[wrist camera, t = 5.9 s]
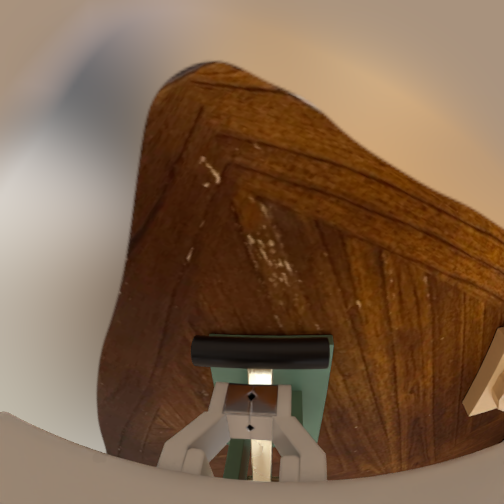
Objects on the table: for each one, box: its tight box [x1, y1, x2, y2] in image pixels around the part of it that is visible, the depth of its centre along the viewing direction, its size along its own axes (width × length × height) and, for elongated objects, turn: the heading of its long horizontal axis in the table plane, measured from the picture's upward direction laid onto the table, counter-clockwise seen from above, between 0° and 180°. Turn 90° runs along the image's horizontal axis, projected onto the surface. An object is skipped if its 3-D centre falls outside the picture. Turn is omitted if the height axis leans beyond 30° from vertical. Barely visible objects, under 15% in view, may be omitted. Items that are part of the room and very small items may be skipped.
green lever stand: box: [209, 334, 334, 480], centre depth 19 cm, size 14×9×12 cm, turn 3°
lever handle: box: [191, 335, 330, 482], centre depth 14 cm, size 14×6×2 cm, turn 3°
